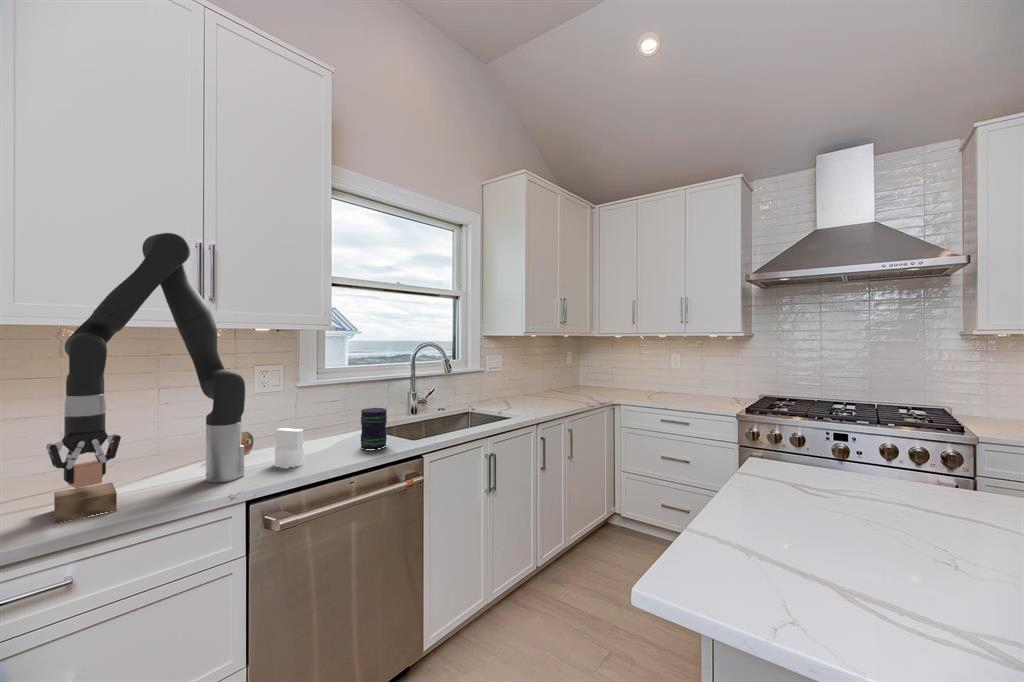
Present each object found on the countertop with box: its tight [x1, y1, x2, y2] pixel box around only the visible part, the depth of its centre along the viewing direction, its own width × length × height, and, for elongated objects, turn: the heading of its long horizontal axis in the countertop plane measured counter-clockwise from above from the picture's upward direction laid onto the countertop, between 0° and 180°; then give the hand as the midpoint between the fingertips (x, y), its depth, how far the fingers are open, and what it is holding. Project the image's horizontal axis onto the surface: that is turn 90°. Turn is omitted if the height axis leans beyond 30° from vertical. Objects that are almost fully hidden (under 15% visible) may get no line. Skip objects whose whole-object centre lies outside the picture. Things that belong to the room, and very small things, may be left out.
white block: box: [274, 427, 305, 469], centre depth 157 cm, size 9×9×12 cm
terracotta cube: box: [67, 459, 103, 489], centre depth 115 cm, size 5×5×5 cm
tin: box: [241, 431, 254, 455], centre depth 165 cm, size 15×3×8 cm, turn 168°
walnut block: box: [53, 482, 118, 524], centre depth 115 cm, size 11×11×5 cm
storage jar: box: [360, 407, 388, 449], centre depth 181 cm, size 10×10×15 cm
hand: (85, 479), depth 115 cm, fingers closed on terracotta cube, 5 cm apart
